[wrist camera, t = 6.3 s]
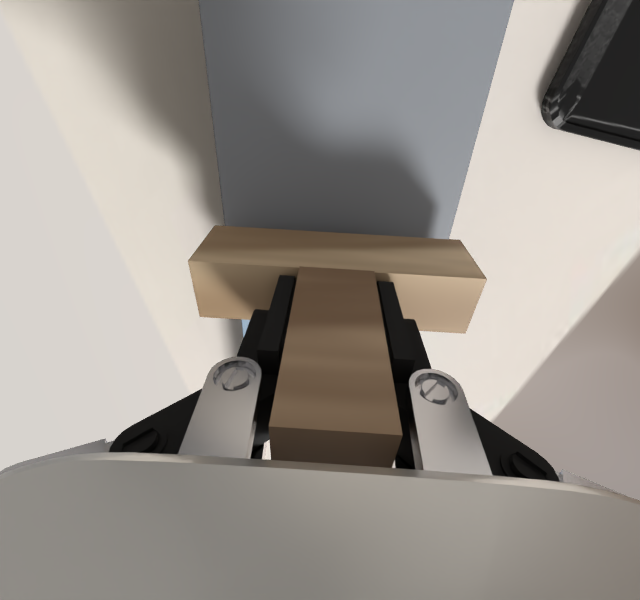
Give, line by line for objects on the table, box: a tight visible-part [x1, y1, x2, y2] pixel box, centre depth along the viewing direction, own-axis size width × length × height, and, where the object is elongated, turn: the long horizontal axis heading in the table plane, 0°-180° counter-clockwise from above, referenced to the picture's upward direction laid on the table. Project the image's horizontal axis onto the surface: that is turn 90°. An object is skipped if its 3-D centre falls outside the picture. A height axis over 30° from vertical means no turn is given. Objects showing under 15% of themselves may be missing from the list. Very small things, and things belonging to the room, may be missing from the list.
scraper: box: [188, 225, 487, 468], centre depth 11 cm, size 2×10×9 cm, turn 87°
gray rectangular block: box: [199, 0, 514, 239], centre depth 15 cm, size 14×10×4 cm
